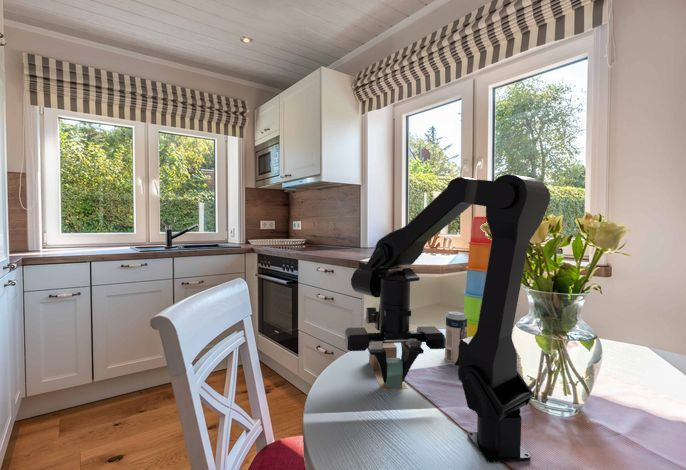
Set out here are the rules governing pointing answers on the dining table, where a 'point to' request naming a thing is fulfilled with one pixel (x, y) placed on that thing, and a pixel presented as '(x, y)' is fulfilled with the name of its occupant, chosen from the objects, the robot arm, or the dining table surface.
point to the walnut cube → (390, 353)
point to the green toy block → (392, 375)
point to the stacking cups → (476, 273)
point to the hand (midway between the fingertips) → (393, 381)
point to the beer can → (454, 333)
